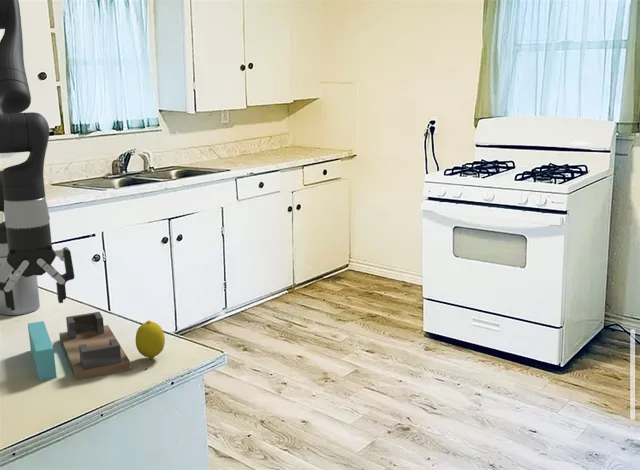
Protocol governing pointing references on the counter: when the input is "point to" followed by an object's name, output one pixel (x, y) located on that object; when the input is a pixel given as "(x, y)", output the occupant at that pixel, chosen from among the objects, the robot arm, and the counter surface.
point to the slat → (42, 351)
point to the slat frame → (92, 347)
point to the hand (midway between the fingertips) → (36, 305)
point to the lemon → (150, 339)
